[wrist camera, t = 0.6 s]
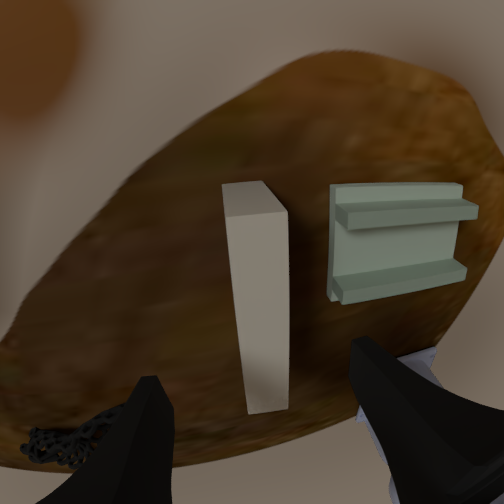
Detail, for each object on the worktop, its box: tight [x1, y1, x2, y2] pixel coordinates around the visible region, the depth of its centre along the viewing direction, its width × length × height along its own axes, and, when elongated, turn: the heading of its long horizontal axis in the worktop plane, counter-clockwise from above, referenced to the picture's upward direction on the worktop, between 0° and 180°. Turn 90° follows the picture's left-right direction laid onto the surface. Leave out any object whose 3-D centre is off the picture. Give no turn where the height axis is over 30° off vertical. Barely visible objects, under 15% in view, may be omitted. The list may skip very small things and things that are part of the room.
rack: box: [327, 182, 479, 305], centre depth 19 cm, size 8×11×3 cm
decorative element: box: [20, 403, 126, 469], centre depth 23 cm, size 22×5×6 cm, turn 120°
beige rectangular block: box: [222, 181, 289, 414], centre depth 17 cm, size 12×2×7 cm, turn 3°
